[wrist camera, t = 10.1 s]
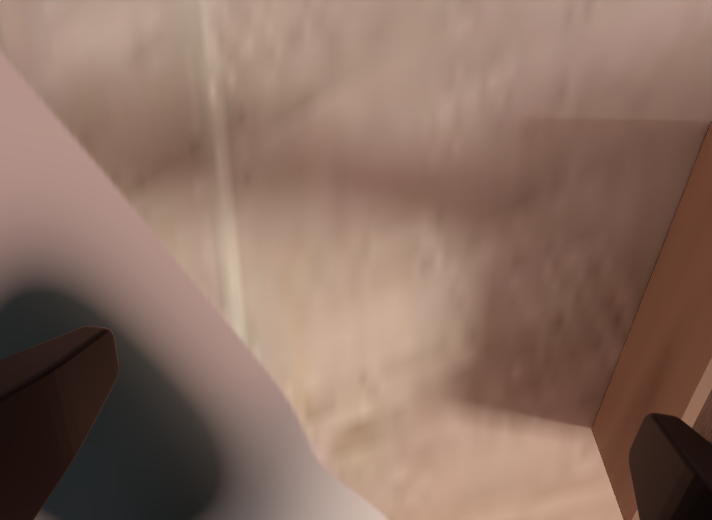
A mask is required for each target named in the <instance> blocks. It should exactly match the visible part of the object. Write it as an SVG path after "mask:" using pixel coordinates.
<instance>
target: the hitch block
mask: <svg viewBox="0 0 712 520" xmlns="http://www.w3.org/2000/svg"><path fill="white" fill-rule="evenodd" d="M711 389H712V122H711V124H710V126H709V129H708V131H707V134H706V137H705V139H704V142H703V144H702V147H701V149H700V152H699V155H698V157H697V160H696V162H695V165H694V167H693V170H692V173H691V175H690V178H689V180H688V183H687V185H686V188H685V191H684V193H683V196H682V198H681V201H680V203H679V206H678V208H677V211H676V214H675V216H674V219H673V221H672V224H671V226H670V229H669V232H668V234H667V237H666V239H665V242H664V244H663V247H662V250H661V252H660V255H659V257H658V260H657V262H656V265H655V268H654V270H653V273H652V275H651V278H650V280H649V283H648V286H647V288H646V291H645V293H644V296H643V298H642V301H641V304H640V306H639V309H638V311H637V314H636V316H635V319H634V322H633V324H632V327H631V329H630V332H629V334H628V337H627V340H626V342H625V345H624V347H623V350H622V352H621V355H620V358H619V360H618V363H617V365H616V368H615V370H614V373H613V376H612V378H611V381H610V383H609V386H608V388H607V391H606V394H605V396H604V399H603V401H602V404H601V406H600V409H599V412H598V414H597V417H596V419H595V422H594V424H593V427H592V432H593V435H594V438H595V440H596V443H597V446H598V449H599V452H600V454H601V457H602V460H603V463H604V466H605V469H606V471H607V474H608V477H609V480H610V483H611V485H612V488H613V491H614V494H615V497H616V499H617V502H618V505H619V508H620V511H621V514H622V516H623V519H624V520H639V515H638V509H637V504H636V499H635V494H634V489H633V484H632V479H631V473H630V468H629V460H628V458H629V451H630V448H631V445H632V443H633V441H634V439H635V436H636V434H637V432H638V430H639V427H640V425H641V423H642V421H643V419H644V417H645V416H646V415H647V414H649V413H660V414H666V415H672V416H676V417H678V418H680V419H681V420H682V421H684V422H685V423H686V424H687V425H689V426H690V427H691V428H692V427H693V425H694V423H695V421H696V419H697V417H698V415H699V413H700V411H701V409H702V407H703V405H704V403H705V401H706V399H707V397H708V395H709V393H710V391H711Z"/></svg>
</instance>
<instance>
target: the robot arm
mask: <svg viewBox="0 0 712 520" xmlns="http://www.w3.org/2000/svg"><path fill="white" fill-rule="evenodd" d="M118 373H119V363H118V357H117V351H116V345H115V338H114V334H113V332H112V331H111V330H110V329H108V328H103V327H96V326H84V327H81V328H79V329H76V330H74V331H71V332H69V333H66V334H64V335H61V336H59V337H56V338H54V339H51V340H49V341H46V342H44V343H41V344H39V345H36V346H34V347H31V348H29V349H26V350H24V351H21V352H19V353H16V354H14V355H11V356H9V357H6V358H4V359H1V360H0V520H34V519H35V517H36V516H37V514H38V513H39V511H40V510H41V508H42V507H43V505H44V504H45V502H46V501H47V499H48V497H49V496H50V495H51V493H52V492H53V490H54V489H55V487H56V486H57V484H58V483H59V481H60V480H61V478H62V477H63V475H64V474H65V472H66V471H67V469H68V468H69V466H70V465H71V463H72V461H73V460H74V458H75V457H76V455H77V453H78V451H79V450H80V448H81V446H82V444H83V442H84V440H85V439H86V436H87V435H88V433H89V431H90V429H91V427H92V425H93V424H94V422H95V420H96V417H97V416H98V414H99V412H100V410H101V408H102V407H103V405H104V402H105V401H106V399H107V397H108V395H109V393H110V391H111V390H112V388H113V386H114V384H115V382H116V380H117V377H118ZM628 460H629V468H630V473H631V479H632V484H633V489H634V494H635V499H636V504H637V509H638V515H639V520H712V444H711V443H710V442H709V441H707V440H706V439H705V438H704V437H702V436H701V435H700V434H699V433H697V432H696V431H695V430H694V429H692V428H691V427H690V426H689V425H687V424H686V423H685V422H684V421H682V420H681V419H680V418H678V417H676V416H672V415H666V414H660V413H649V414H647V415H646V416H645V417H644V419H643V421H642V423H641V425H640V427H639V430H638V432H637V434H636V436H635V439H634V441H633V443H632V445H631V448H630V451H629V458H628Z"/></svg>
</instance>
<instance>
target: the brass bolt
mask: <svg viewBox="0 0 712 520" xmlns="http://www.w3.org/2000/svg"><path fill="white" fill-rule="evenodd" d="M692 429H694V430H695V431H696V432H697V433H699V434H700V435H701V436H702V437H704V438H705V439H706V440H707V441H709V442H710V443H711V444H712V389H711V391H710V393H709V395H708V397H707V399H706V401H705V403H704V405H703V407H702V409H701V411H700V413H699V415H698V417H697V419H696V421H695V423H694V425H693V427H692Z"/></svg>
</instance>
